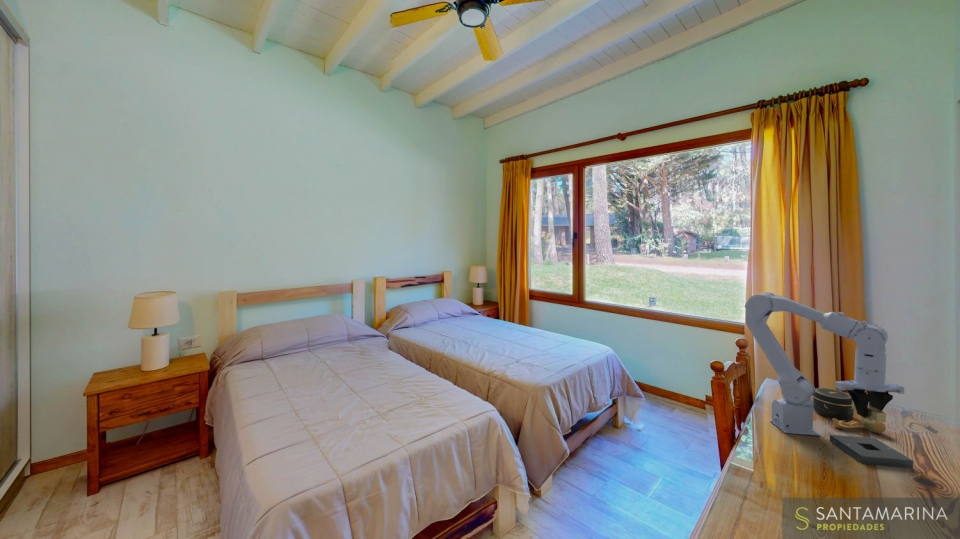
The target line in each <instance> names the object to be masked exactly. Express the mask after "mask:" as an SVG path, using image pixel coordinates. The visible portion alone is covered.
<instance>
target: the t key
mask: <svg viewBox="0 0 960 539" xmlns="http://www.w3.org/2000/svg"><path fill="white" fill-rule="evenodd" d="M852 409H854V411H856V408H855V405H854V402H853V400H852ZM874 420H875V421H876V422H882V423H887V422H886V421H887V413H886V412H885V411H883V410H882V411H880V410H878V409H876V408H874V407H872V406H870V405H869V404H868V408H867V416H866V417H862V416H861V422H860V423H861V426H862V427H861V428H863V427H864V428H865V429H867V430H869V429H874Z"/></svg>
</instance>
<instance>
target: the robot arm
mask: <svg viewBox="0 0 960 539" xmlns="http://www.w3.org/2000/svg"><path fill="white" fill-rule="evenodd" d="M744 308H745V324H746V326H747V328H748V330H749V331H750V333H751V335H752V336H753V338H754V340H756V342H757V344H758V345H759V348H760V349H761V350H762V352H763V353H764V355H765V356H766V358H767V360H768V361H769V364H770V365H771V366H772V368H773V370H774V371H775V373H776V376H777V382H778V384H779V386H780V389H781V390H780V392H781V395H782V397H781V398H780V399H773V401H772V403H771V419H770V420H769V421H770V423H772V424H773V425H774V426H775V427H777V428H778V429H780V430H781V431H782V432H784V433H785V434H793V435H794V434H795V435H807V436H817V437H818V436H819V437H820V436H821V433H820V432H818V431H817V430H816V429H814V407H813V406H814V403H813V399H812V398H811V397H813V394H814V393H815V389H816V388H815V385H814V384H813V382H812V381H811V380H809V379H808V378H806V377H805V376H804V374H803V373H802V372H801V371H800V370H799V369H797V368H796V367H795V365H794V364H793V362H792V360H791V359H790V357H789V355H788V354H787V353H786V352H785V351H786V350H784V348H783V347H782V345H781V343H780V342H779V341H778V339H777V337H776V336H775V335H774V333H773V331H772V330H771V328H770V326H769V325H768V323H767V322H768V320H769V318H770V315H771V314H773V313H777V312H789V313H790V314H793V315H797V316H800V317H802V318H804V319H808V320H811V321H813V322H816V323H818V324H819V325H820V326H821V329H823V330H824V331H828V332H831V333H833V334H835V335H838V336H840V337H843V338H846V339H848V340H854V342H855V343H856V349H855V351H854V352H855V353H854V354H855V355H854V356H855V358H854V376H853V378H854V380H853V379H852V380H840V381H839V380H837V381H835V389H836V390H839V391H845V390H846V393H848V394H849V395H850V396H851V398H852V400H853V402H854V405H855V408H856V410H855V411H856V414H857V415H859V416H860V417H861V418H862V417H866V416H867V408H868V405H870V406H872V407H874V408H876V409H878V410H880V411H883V410H884V409H885V407H886V406H887V405H888V404H889V403H890V402H891V401H892V400H893V399H894V395H893V394H890V393H897V394H900V395H904V394H905V386H903V385H900V384H899V383H896V384H895V383H886V368H887V354H886V351H887V347H886V343H887V341H888V339H889V335H888V332H887V330H885V329H884V328H882V327H881V326H879V325H877V324H874V323H873V324H872V323H871V324H870V323H868V322H867V321H866V320H862V321H859V320H857V319H854V318H852V317H849V316H847V315H845V312H841V311H839V312H836V311H829V312H823V311H820V310H818V309H816V308H813V307H810V306H808V305H806V304H803V303H800V302H798V301H795V300H793V299H791V298H787V297H786V296H783V295H779V294H775V293H772V292H769V291H768V292H761V293H759V294H757V293H756V294H753V295H751V296H750V297H749V298H748V299H747V301H746V303H745V304H744Z"/></svg>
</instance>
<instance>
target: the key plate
mask: <svg viewBox="0 0 960 539" xmlns="http://www.w3.org/2000/svg"><path fill="white" fill-rule="evenodd" d="M829 442H830V443H832V444H833V445H834V446H836V447H837V448H839V449H840V450H841V451H843V452H845V454H848V455H849V456H850V457H852V458H853V459H854V460H856V461H857V462H859V463H861V464H864V465H865V464H866V465H872V466H873V465H876V466H884V467H885V466H886V467H896V468H898V467H899V468H908V469H914V460H913V459H911V458H910V457H908V456H906V455H904V454H903V453H901V452H899V451H898V450H896V449H894V448H893V447H890V446H889V445H887V444H886V443H884V442H883V441H881V440H879V439H877V438H875V437H866V436H864V437H863V436H852V435H841V434H840V435H838V434H829Z"/></svg>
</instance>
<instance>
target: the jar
mask: <svg viewBox="0 0 960 539" xmlns="http://www.w3.org/2000/svg"><path fill="white" fill-rule="evenodd" d="M812 401H813V403H814V406H813V411H814V412H815V413H816V412H817V413H816V414H818V415H820V416H822V417H825V418H827V419H831V420H832V419H833V418H834V419H837V420H838V421H842V420H846V421H847V422H849V421H850V420H851V419H853V417H854V414H855V410H854V409H852V398H851V396H850V395H849V393H848V392H845V391H843V390H839V389H833V388H827V387H826V388H825V387H817V388H815V393H814V394H813V395H812ZM846 421H845V422H846Z"/></svg>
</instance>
